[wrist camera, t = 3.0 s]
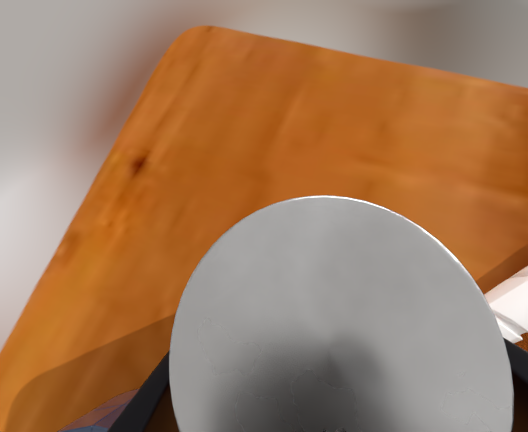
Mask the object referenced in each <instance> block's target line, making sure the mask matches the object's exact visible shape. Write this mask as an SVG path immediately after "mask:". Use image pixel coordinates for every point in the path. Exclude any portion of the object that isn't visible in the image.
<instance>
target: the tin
mask: <svg viewBox="0 0 528 432" xmlns="http://www.w3.org/2000/svg"><path fill="white" fill-rule="evenodd" d="M169 380H170V389H171V396H172V404H173V409H174V413H175V417H176V421H177V425H178V429H179V432H512V431H513V424H514V389H513V381H512V373H511V366H510V362H509V358H508V354H507V350H506V346H505V342H504V339H503V336H502V333H501V331H500V328H499V326H498V323H497V320H496V318H495V315H494V314H493V312H492V310H491V308H490V306H489V304H488V302H487V300H486V298H485V296H484V294H483V293H482V291H481V290H480V288H479V287H478V285H477V284H476V282H475V281H474V279H473V278H472V276H471V275H470V273H469V272H468V271H467V270H466V269H465V267H464V266H463V265H462V264H461V263H460V261H459V260H458V259H457V258H456V257H455V256H454V255H453V254H452V253H451V252H450V251H449V250H448V249H447V248H446V247H445V246H444V245H443V244H442V243H441V242H440V241H439V240H438V239H436V238H435V237H434V236H432V235H431V234H430V233H428V232H427V231H426V230H425V229H423V228H422V227H421V226H419V225H417V224H416V223H414V222H412V221H411V220H409V219H407V218H406V217H404V216H402V215H400V214H398V213H396V212H394V211H391V210H389V209H387V208H385V207H382V206H379V205H376V204H373V203H370V202H367V201H363V200H359V199H354V198H349V197H341V196H329V195H322V196H305V197H299V198H293V199H288V200H285V201H281V202H278V203H274V204H272V205H269V206H267V207H265V208H262V209H260V210H258V211H256V212H254V213H252V214H251V215H249V216H247V217H245V218H244V219H242V220H241V221H239V222H238V223H237V224H235V225H234V226H233V227H231V228H230V229H229V230H227V231H226V232H225V233H224V234H223V235H222V236H221V237H220V238H219V239H218V240H217V241H216V242H215V243H214V244H213V245H212V246H211V248H210V249H209V250H208V251H207V253H206V254H205V255H204V256H203V258H202V259H201V261H200V262H199V264H198V265H197V267H196V269H195V270H194V272H193V273H192V275H191V277H190V279H189V281H188V283H187V285H186V288H185V290H184V292H183V294H182V297H181V300H180V303H179V306H178V309H177V312H176V316H175V320H174V325H173V330H172V334H171V344H170V354H169Z"/></svg>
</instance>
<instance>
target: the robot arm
mask: <svg viewBox="0 0 528 432" xmlns="http://www.w3.org/2000/svg"><path fill="white" fill-rule="evenodd" d="M503 339H504V342H505V346H506V350H507V354H508V358H509V362H510V366H511V373H512V381H513V389H514V424H513V431H512V432H528V352H527V351H525V350H523V349H522V348H520V347H519V346H517V345H515V344H514V343H512V342H510V341H509V340H507V339H505V338H504V337H503ZM169 354H170V350H169V351H168V353H167V354H166V355H165V356H164V358H163V359H162V360H161V362H160V363H159V364H158V366H157V367H156V368H155V369H154V371H153V372H152V373H151V375H150V376H149V377H148V379H147V380H146V381H145V382H144V384H143V385H142V386H141V388H140V389H139V390H138V392H137V393H136V394H135V395H134V397H133V398H132V399H131V401H130V402H129V403H128V405H127V406H126V407H125V409H124V410H123V411H122V412H121V414H120V415H119V416H118V418H117V419H116V420H115V422H114V423H113V424H112V425H111V427H110V428H109V429H108V431H107V432H179V429H178V425H177V421H176V417H175V413H174V409H173V404H172V396H171V389H170V380H169Z"/></svg>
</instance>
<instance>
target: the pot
mask: <svg viewBox="0 0 528 432" xmlns="http://www.w3.org/2000/svg"><path fill="white" fill-rule="evenodd" d="M138 390H139V389H136V390H132V391H128V392H125V393H123V394H120V395H118V396H116V397H114V398H112V399H111V400H109V401H107V402H105V403H104V404H102V405H100V406H99V407H97V408H95V409H94V410H92V411H90V412H89V413H87V414H85V415H84V416H82V417H80V418H79V419H77V420H75V421H74V422H72V423H70V424H69V425H67V426H65V427H64V428H62V429H60V430H59V431H57V432H107V431H108V429H109V428H110V427H111V425H112V424H113V423H114V422H115V420H116V419H117V418H118V416H119V415H120V414H121V412H122V411H123V410H124V409H125V407H126V406H127V405H128V403H129V402H130V401H131V399H132V398H133V397H134V395H135V394H136V393H137V392H138Z"/></svg>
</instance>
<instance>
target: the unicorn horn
mask: <svg viewBox="0 0 528 432" xmlns="http://www.w3.org/2000/svg"><path fill="white" fill-rule="evenodd" d="M484 296H485V298H486V300H487V302H488V304H489V306H490V308H491V310H492V312H493V314H494V315H495V318H496V320H497V323H498V326H499V328H500V331H501V333H502V336H503V337H504V338H505V339H507V340H509V341H510V342H512V343H516V342H518V341H521V340H522V339H523V338H522V337H521V336H520V335H521V334H523V333H526V332H528V266H527V267H525V268H524V269H522V270H521V271H519V272H517V273H516V274H514V275H513V276H512V277H510V278H509V279H507V280H505V281H504V282H502V283H501V284H499V285H497V286H496V287H495V288H493V289H492V290H490V291H489V292H487V293H486V294H484Z"/></svg>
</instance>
